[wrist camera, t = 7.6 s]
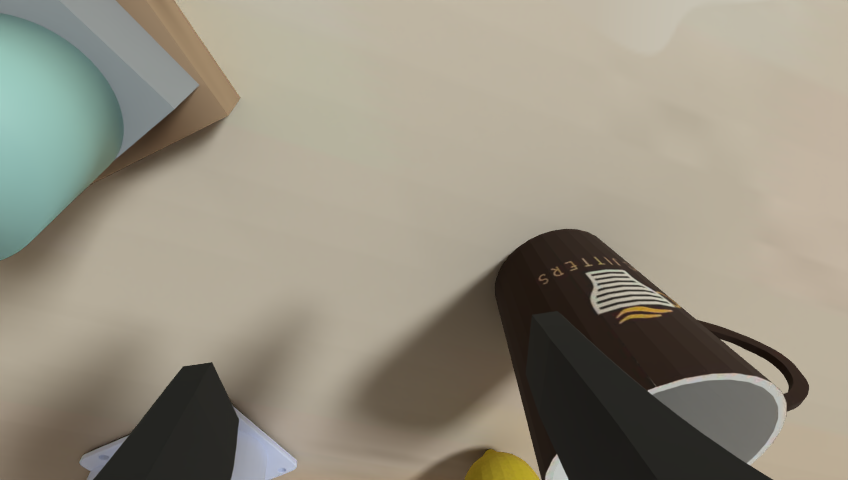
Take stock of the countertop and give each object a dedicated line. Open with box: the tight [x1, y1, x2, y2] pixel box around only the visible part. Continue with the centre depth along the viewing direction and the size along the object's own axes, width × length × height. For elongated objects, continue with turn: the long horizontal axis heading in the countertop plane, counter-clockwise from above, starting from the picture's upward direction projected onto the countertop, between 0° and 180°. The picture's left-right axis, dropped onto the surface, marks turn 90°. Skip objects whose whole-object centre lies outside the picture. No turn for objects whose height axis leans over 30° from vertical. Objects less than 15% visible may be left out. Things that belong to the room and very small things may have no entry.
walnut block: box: [90, 0, 240, 185], centre depth 15 cm, size 6×6×2 cm
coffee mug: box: [495, 229, 809, 480], centre depth 20 cm, size 12×9×10 cm
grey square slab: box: [0, 0, 199, 159], centre depth 12 cm, size 5×5×2 cm
